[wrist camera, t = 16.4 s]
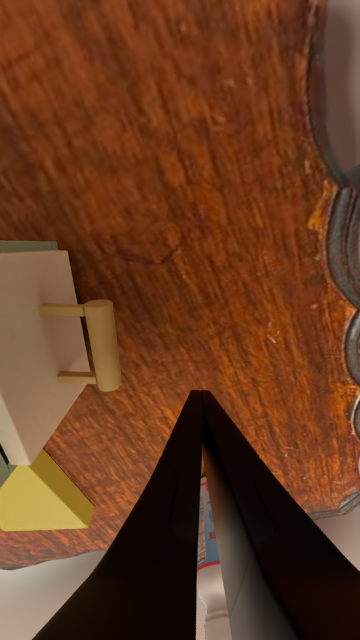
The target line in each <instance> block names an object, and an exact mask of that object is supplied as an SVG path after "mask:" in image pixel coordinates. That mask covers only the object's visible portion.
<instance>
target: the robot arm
mask: <svg viewBox="0 0 360 640" xmlns="http://www.w3.org/2000/svg"><path fill="white" fill-rule="evenodd" d="M202 455H203V461H204V467H205V473H206V480H207V486H208V492H209V498H210V505H211V511H212V517H213V523H214V530H215V536H216V542H217V548H218V555H219V561H220V567H221V573H222V580H223V586H224V592H225V598H226V605H227V611H228V617H229V619H230V620H229V624H230V630H231V636H232V640H360V571H358V569H356V567H354V566H353V564H351V562H350V561H349V560H348V559H347V558H346V557H345V556H344V555H343V554H342V553H341V552H340V551H339V550H338V549H337V547H336V546H335V545H334V544H333V543H332V542H331V541H330V540H329V538H327V536H326V535H325V534H324V533H323V532H322V531H321V529H320V528H319V527H318V526H317V525H316V524H315V523H314V522H313V520H312V519H311V518H310V517H309V516H308V515H307V514H306V513H305V511H304V510H303V509H302V508H301V507H300V506H299V505H298V504H297V502H296V501H295V500H294V499H293V498H292V497H291V495H290V494H289V493H288V492H287V491H286V490H285V488H284V487H283V486H282V485H281V484H280V482H279V481H278V480H277V479H276V477H275V476H274V475H273V474H272V472H271V471H270V470H269V469H268V467H267V466H266V465H265V463H264V462H263V461H262V459H259V458H260V457H259V455H258V454H257V453H256V451H255V450H254V449H253V447H252V446H251V445H250V443H249V442H248V441H247V439H246V438H245V437H244V435H243V434H242V433H241V432H240V430H239V429H238V428H237V426H236V425H235V424H234V422H233V421H232V420H231V418H230V417H229V416H228V414H227V413H226V412H225V410H224V409H223V408H222V406H221V405H220V404H219V402H218V401H217V400H216V398H215V397H214V396H213V394H212V393H211V392H210V391H209V390H201V391H199V390H191V391H190V393H189V396H188V398H187V400H186V402H185V404H184V407H183V409H182V411H181V413H180V415H179V418H178V420H177V422H176V424H175V426H174V429H173V431H172V433H171V435H170V437H169V440H168V442H167V444H166V446H165V448H164V451H163V453H162V455H161V457H160V459H159V461H158V464H157V466H156V468H155V470H154V472H153V474H152V476H151V478H150V480H149V482H148V483H147V485H146V487H145V489H144V491H143V492H142V494H141V496H140V498H139V499H138V501H137V503H136V504H135V506H134V508H133V509H132V511H131V513H130V514H129V516H128V518H127V519H126V521H125V523H124V524H123V526H122V528H121V529H120V531H119V533H118V534H117V536H116V537H115V539H114V541H113V542H112V544H111V546H110V547H109V549H108V550H107V552H106V554H105V555H104V557H103V558H102V560H101V561H100V562H99V564H98V565H97V566H96V568H95V569H94V571H93V572H92V573H91V574H90V576H89V577H88V578H87V579H86V580H85V582H83V584H82V585H81V586H80V587H79V588H78V589H77V590H76V591H75V592H74V594H73V595H72V596H71V597H70V598H69V599H68V600H67V601H66V602H65V604H64V605H63V606H62V607H61V608H60V609H59V610H58V611H57V612H56V613H55V615H54V616H53V617H52V618H51V619H50V620H49V621H48V623H47V624H46V625H45V626H44V627H43V628H42V629H41V630H40V631H39V632H38V633H37V635H36V636H35V637H34V638H33V639H32V640H196V594H197V593H196V592H197V561H198V536H199V513H200V489H201V465H202Z"/></svg>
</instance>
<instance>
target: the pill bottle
mask: <svg viewBox="0 0 360 640" xmlns="http://www.w3.org/2000/svg"><path fill="white" fill-rule="evenodd" d="M197 593H198V595H199V598H200V600H201V601H202V602H203V604H204V605H205V606H206V607H207V615H206V617H205V621H206V623H205V625H204V627H205V639H206V640H232V636H231V630H230V624H229V620H230V619H229V617H228V611H227V605H226V598H225V592H224V586H223V580H222V573H221V567H220V561H219V555H218V548H217V542H216V536H215V530H214V523H213V517H212V511H211V505H210V498H209V492H208V486H207V480H206V476H205V477H203V478H201V489H200V513H199V536H198V561H197Z"/></svg>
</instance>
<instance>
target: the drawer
mask: <svg viewBox="0 0 360 640" xmlns="http://www.w3.org/2000/svg"><path fill="white" fill-rule="evenodd" d="M80 316H85V317H86V322H87V328H88V333H89V339H90V345H91V350H92V356H93V362H94V367H95V372H90V367H89V362H88V357H87V352H86V346H85V341H84V336H83V330H82V325H81V320H80ZM121 383H122V378H121V369H120V361H119V352H118V344H117V335H116V327H115V318H114V310H113V303H112V301H110V300H92V301H89V302H86V303H85V304H77V299H76V294H75V288H74V283H73V278H72V272H71V267H70V262H69V257H68V252H67V251H60V250H49V251H30V252H11V253H0V444H1V446H2V448H3V450H4V452H5V454H6V456H7V458H8V460H9V462H10V464H11V465H31V464H32V462H33V461H34V460H35V458H36V457H37V455H38V454H39V452H40V451H41V449H42V448H43V447H44V445H45V444H46V442H47V441H48V439H49V438H50V436H51V435H52V434H53V432H54V431H55V429H56V428H57V426H58V425H59V424H60V422H61V421H62V419H63V418H64V416H65V415H66V413H67V412H68V411H69V409H70V408H71V406H72V405H73V403H74V402H75V400H76V399H77V398H78V396H79V395H80V393H81V392H82V390H83V389H84V387H85V386H86V385H87V384H98V388H99V389H100V390H101V391H104V392H109V391H113V390H115V389H117V388H118V387H119V386H120V385H121Z"/></svg>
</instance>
